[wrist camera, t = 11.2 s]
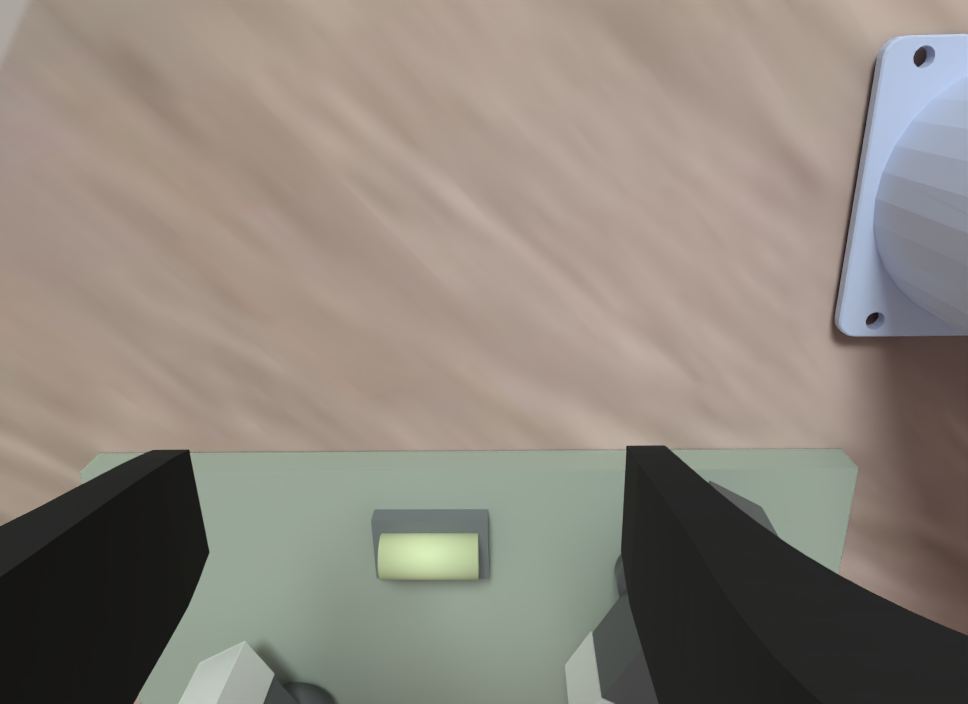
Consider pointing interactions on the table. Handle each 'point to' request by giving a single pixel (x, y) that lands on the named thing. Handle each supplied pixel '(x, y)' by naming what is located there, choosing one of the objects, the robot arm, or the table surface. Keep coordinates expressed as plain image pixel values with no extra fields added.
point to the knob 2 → (625, 643)
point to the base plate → (441, 562)
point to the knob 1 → (245, 682)
